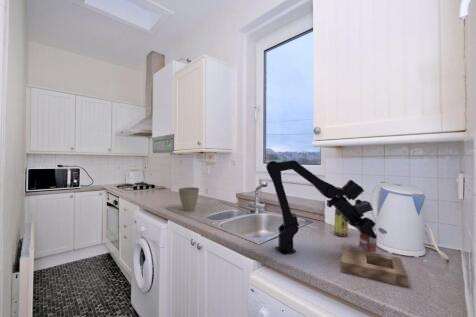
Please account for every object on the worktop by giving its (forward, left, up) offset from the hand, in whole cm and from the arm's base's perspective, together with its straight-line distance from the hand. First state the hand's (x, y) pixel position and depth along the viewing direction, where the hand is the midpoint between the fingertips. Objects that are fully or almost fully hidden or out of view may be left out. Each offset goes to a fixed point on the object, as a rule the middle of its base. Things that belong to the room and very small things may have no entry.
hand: (371, 235), depth 91 cm
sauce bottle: (-22, +7, -8) cm, 24 cm away
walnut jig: (+8, -12, -8) cm, 16 cm away
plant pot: (-103, -57, -8) cm, 118 cm away
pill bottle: (-1, -1, -7) cm, 7 cm away
